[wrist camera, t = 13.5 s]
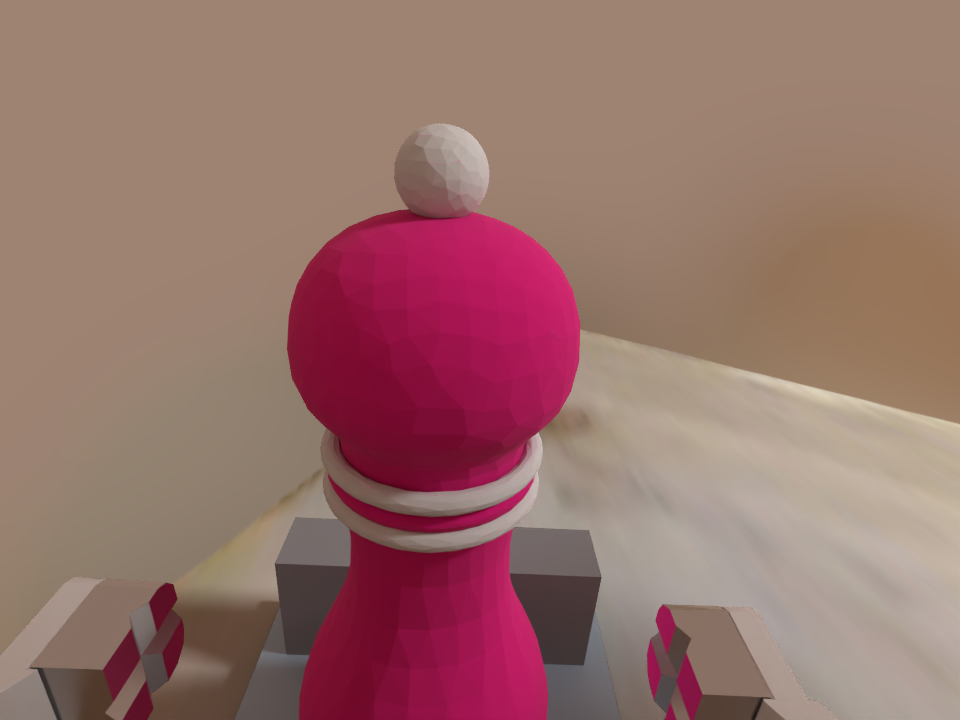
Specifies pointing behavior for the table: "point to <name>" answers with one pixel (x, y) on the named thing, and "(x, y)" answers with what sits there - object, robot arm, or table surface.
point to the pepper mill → (431, 441)
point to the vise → (535, 579)
